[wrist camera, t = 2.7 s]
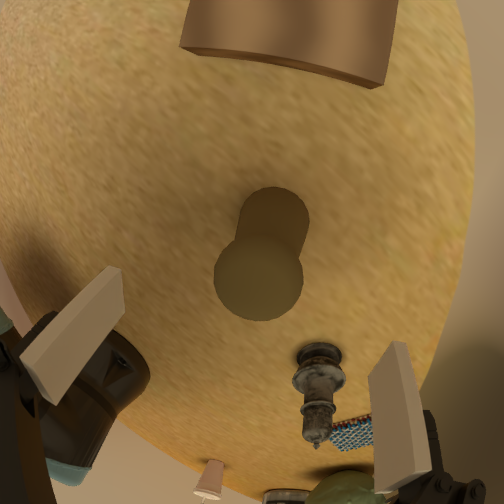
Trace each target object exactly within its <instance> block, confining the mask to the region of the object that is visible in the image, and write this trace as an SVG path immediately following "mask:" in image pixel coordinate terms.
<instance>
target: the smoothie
mask: <svg viewBox="0 0 504 504" xmlns="http://www.w3.org/2000/svg"><path fill="white" fill-rule="evenodd" d="M223 470H224V463H223V462H221V461H218V460H209V461H208V463H207V465H206V467H205V470H204V472H203V474H202V476H201V478H200V480H199V482H198V484H197V486H196V488H195V489H194V491H193V493H194V494H196V495H198V496H201V497H203V499H202V502H201V504H204V501H205V498H208V499H214V500H220V499H221V497H222V495H221V486H222V478H223Z"/></svg>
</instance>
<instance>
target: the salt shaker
mask: <svg viewBox="0 0 504 504" xmlns="http://www.w3.org/2000/svg"><path fill="white" fill-rule="evenodd" d="M341 359H342V355H341V352H340V350H339V349H338V348H337V347H335V346H333V345H331V344H327V343H314V344H310V345H308V346H306V347H304V348H302V349H301V350H300V352H299V353H298V355H297V362H298V364H299V368H298V370H297V372H296V373H295V374H294V376H293V378H292V383H293V386H294V387H295V389H296V390H297V391H299V392H301V393H302V394H304V405H303V406H302V407H301V409H300V412H301V414H302V415H304V418H303V430H302V435H303V438H304V439H305V440H306V441H308V442H311V443H314V445H313V447H314V448H315V449H317V448H319V446H320V445H319V443H321V442H324V441H326V440H328V439H329V438H330V437H331V435H332V414H334V413H335V411H336V406H335V405H334V404H333V393H335V392H337V391H338V390H340V389H341V388H342V387H343V386H344V384H345V381H346V377H345V374H344V372H343V371H342V369H341V367H340V366H339V364H340V362H341Z"/></svg>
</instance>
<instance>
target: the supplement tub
mask: <svg viewBox="0 0 504 504" xmlns="http://www.w3.org/2000/svg"><path fill="white" fill-rule="evenodd" d="M309 494H310V492H308V491H301V490H273V491H269V492H267V493H265V494H264V497H263V501H262V504H305V500H306V498H307V496H308V495H309Z"/></svg>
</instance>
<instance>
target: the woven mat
mask: <svg viewBox="0 0 504 504" xmlns="http://www.w3.org/2000/svg"><path fill="white" fill-rule="evenodd" d="M371 416H372V414H369V415H366V416H363V417H359V418H356V419H352V420H348V421H344V422H340V423H336V424H332V427H334V428H332V435H331V437H330V438H329V439H328V440H330V442H333V443H332V444H334V446H336V447H337V448H338V450H341V451H344V449H345V450H346V451H348V448H349V449H353V448H355V449H357V447H358V448H359V447H361V446H363V447H365V445H370V444H372V445H373V428H372V418H370V417H371ZM365 418H367V419H365ZM361 419H362V420H361ZM360 420H361V421H360ZM346 423H347V425H346ZM341 424H343V426H341ZM357 424H358V425H357Z"/></svg>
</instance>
